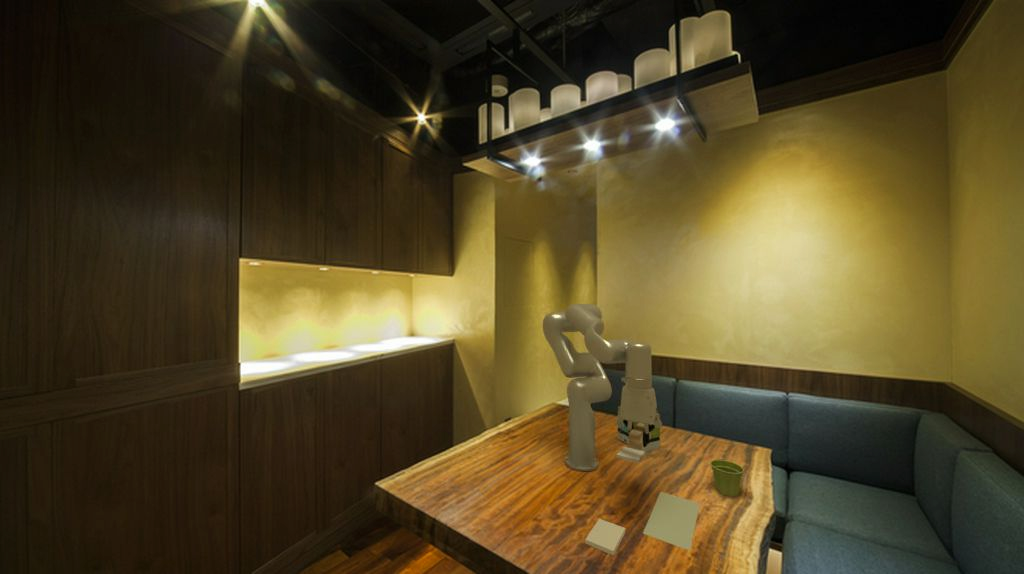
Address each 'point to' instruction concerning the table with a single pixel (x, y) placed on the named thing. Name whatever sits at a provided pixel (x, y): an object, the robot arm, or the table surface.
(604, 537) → the tile
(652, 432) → the tea box
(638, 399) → the robot arm
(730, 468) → the plant pot
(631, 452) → the turner
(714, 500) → the table surface
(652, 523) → the board
